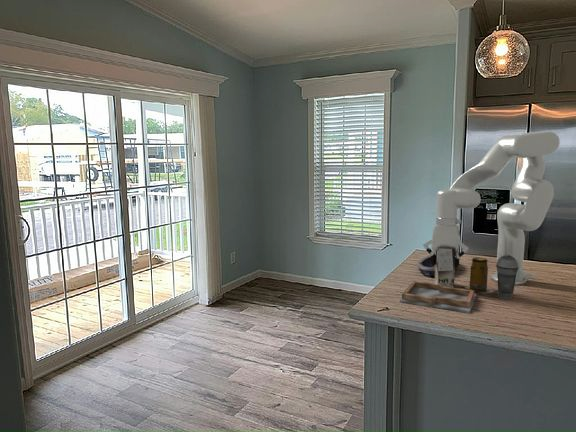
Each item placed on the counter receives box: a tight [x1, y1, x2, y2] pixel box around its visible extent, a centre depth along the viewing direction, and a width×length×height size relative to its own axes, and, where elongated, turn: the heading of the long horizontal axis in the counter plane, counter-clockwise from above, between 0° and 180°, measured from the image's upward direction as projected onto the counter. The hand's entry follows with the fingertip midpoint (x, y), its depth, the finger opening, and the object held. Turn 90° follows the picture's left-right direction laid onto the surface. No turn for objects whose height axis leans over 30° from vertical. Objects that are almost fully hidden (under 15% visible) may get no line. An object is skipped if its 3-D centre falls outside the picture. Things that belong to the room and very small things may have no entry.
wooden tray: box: [399, 280, 477, 314], centre depth 155 cm, size 23×19×3 cm
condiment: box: [463, 257, 495, 295], centre depth 164 cm, size 7×8×12 cm
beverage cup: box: [495, 243, 519, 300], centre depth 155 cm, size 7×7×20 cm
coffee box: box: [434, 247, 456, 288], centre depth 168 cm, size 9×6×16 cm
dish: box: [416, 255, 456, 277], centre depth 193 cm, size 16×31×5 cm, turn 141°
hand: (444, 266), depth 168 cm, fingers closed on coffee box, 7 cm apart
